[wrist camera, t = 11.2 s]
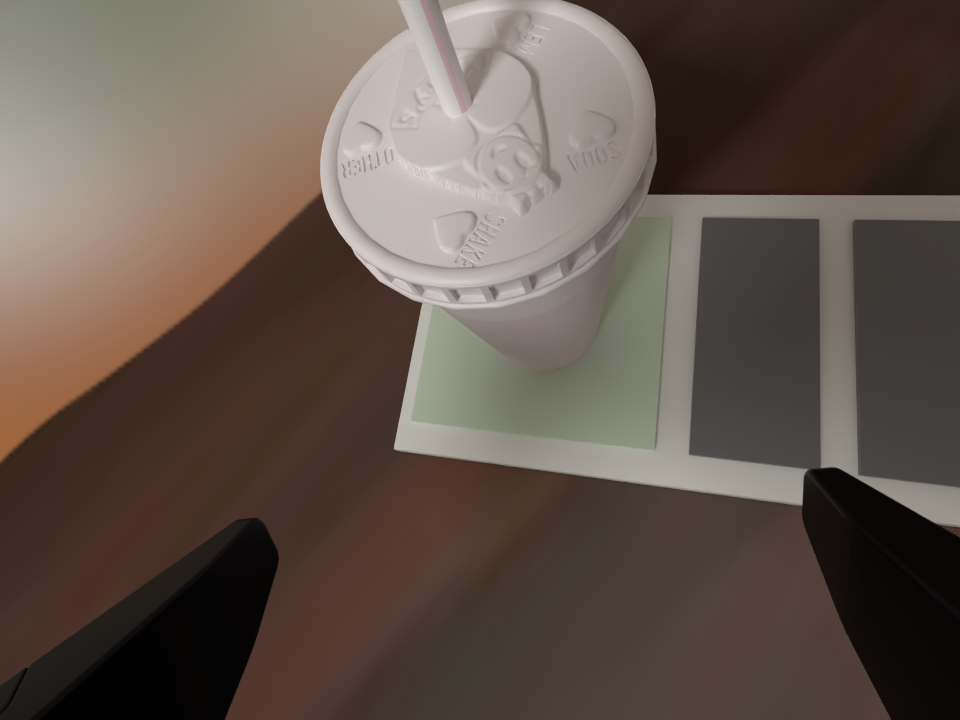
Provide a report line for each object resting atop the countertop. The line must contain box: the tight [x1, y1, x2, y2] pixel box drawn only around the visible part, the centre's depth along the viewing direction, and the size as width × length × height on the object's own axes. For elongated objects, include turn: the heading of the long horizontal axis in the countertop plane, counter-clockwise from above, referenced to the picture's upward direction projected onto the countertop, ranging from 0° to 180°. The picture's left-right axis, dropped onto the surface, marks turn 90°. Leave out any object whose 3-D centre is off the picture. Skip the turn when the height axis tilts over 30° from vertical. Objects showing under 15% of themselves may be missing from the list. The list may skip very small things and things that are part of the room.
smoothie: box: [320, 0, 657, 371], centre depth 13 cm, size 6×6×14 cm
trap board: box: [394, 195, 960, 527], centre depth 18 cm, size 10×18×1 cm, turn 81°
